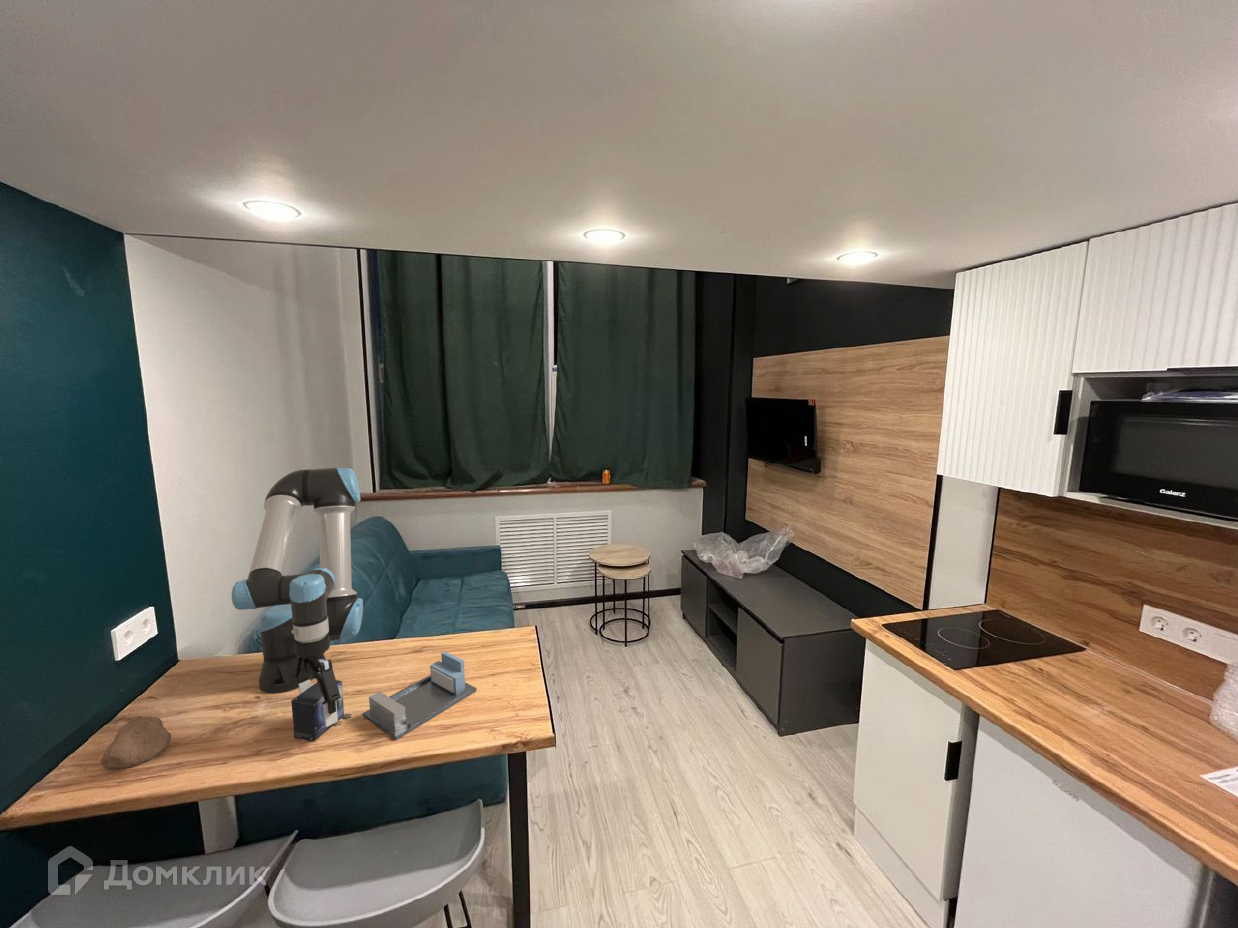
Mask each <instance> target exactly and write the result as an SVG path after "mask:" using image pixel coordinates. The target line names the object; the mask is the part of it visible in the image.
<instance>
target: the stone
mask: <svg viewBox="0 0 1238 928" xmlns="http://www.w3.org/2000/svg"><path fill="white" fill-rule="evenodd" d="M171 740H172V734H171V733H170V732H169V731H168V729H166V728H165V726H164V725H163V721H162V720H161V718H160V717H158V716H135V717H133V718H131V719H130V720H128V722H127V723H126V724H124V725H122V726H120V727H119V728H118V730H117V733H116V734H115V736H114V739H113V741H112V742H110V744H109V745H108V747H107V748H106V750H105V751H104V753H103V755H102V757H101V759H100V765H101V767H102V768H103V769H106V770H109V771H110V770H116V769H120V768H121V769H123V768H124V769H126V768H130V767H135V766H137V765H140V764H142V763H147V762H148V761H150V760H152V759H154V758H156V756H158V755H160V754H161V752H162V751H163V750H165V748H166V747H168V745H170V743H171Z"/></svg>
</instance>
